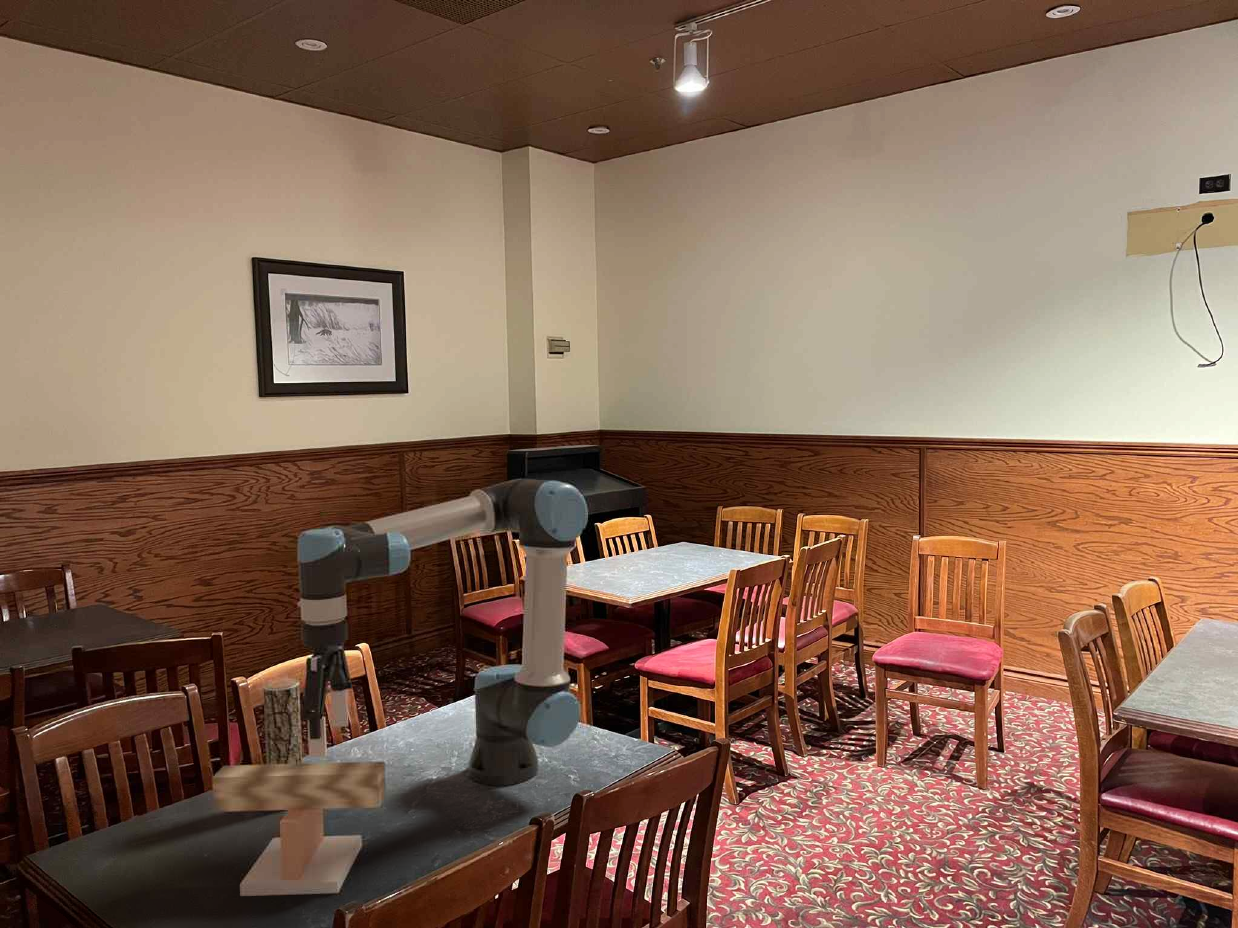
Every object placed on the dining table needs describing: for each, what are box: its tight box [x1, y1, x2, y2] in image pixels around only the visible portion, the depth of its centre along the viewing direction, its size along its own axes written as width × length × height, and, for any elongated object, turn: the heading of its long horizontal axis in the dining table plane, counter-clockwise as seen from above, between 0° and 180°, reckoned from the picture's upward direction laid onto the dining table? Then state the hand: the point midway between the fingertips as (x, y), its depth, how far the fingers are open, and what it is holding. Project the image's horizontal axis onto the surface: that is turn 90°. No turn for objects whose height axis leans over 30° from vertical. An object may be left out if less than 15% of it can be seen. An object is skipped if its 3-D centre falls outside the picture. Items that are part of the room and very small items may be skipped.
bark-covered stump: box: [262, 677, 303, 765], centre depth 184 cm, size 7×7×25 cm
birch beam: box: [211, 761, 387, 813], centre depth 158 cm, size 28×5×6 cm, turn 92°
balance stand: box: [239, 809, 363, 897], centre depth 158 cm, size 16×16×12 cm
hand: (329, 740), depth 157 cm, fingers open, 13 cm apart
